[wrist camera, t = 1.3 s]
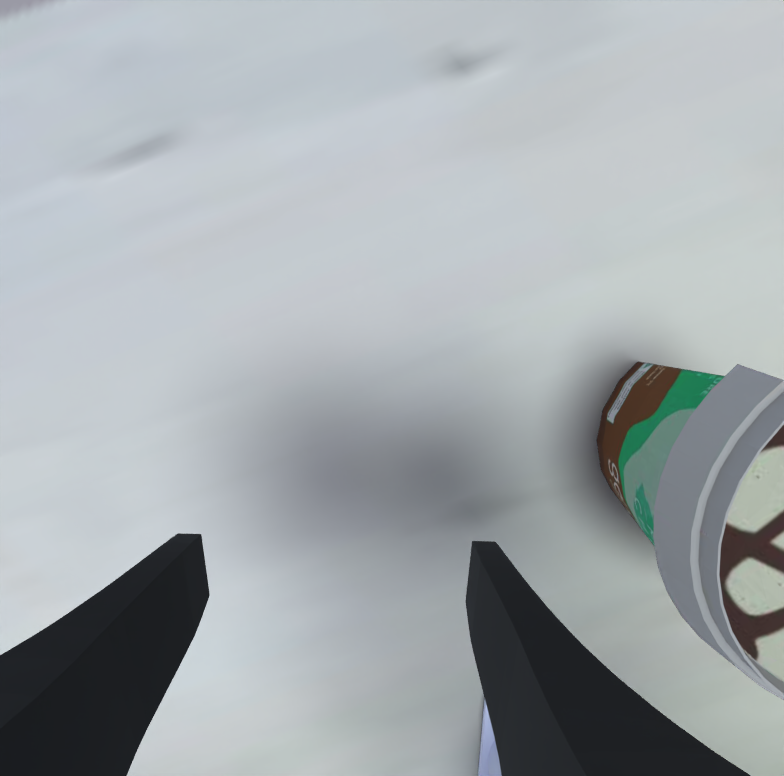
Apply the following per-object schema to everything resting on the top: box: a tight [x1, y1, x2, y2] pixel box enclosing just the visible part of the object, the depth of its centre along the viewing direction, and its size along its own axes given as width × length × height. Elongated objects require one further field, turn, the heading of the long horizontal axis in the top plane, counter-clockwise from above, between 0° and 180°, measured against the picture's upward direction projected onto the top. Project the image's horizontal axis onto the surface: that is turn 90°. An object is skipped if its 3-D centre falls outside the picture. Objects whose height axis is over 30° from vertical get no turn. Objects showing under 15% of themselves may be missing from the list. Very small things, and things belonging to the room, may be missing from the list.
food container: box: [597, 362, 784, 700], centre depth 16 cm, size 12×6×10 cm, turn 46°
